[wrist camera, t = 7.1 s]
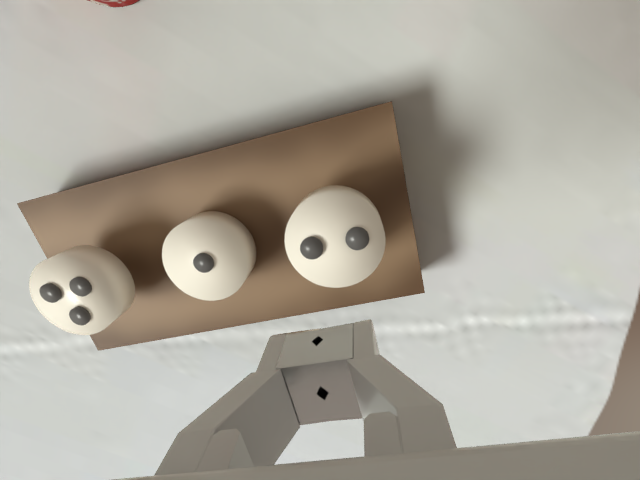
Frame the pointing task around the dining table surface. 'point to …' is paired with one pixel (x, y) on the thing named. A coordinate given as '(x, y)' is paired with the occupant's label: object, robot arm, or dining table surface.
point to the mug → (114, 2)
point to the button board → (252, 211)
